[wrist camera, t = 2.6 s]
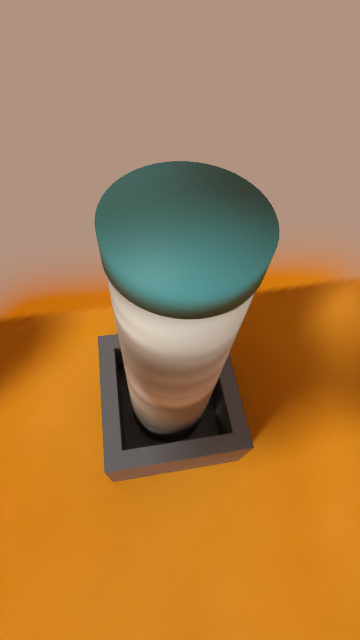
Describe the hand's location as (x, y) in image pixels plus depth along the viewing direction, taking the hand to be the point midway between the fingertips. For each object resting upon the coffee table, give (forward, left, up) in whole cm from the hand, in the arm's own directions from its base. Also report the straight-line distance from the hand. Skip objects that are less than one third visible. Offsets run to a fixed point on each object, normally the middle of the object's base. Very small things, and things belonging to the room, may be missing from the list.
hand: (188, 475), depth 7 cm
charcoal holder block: (+4, -2, -12) cm, 13 cm away
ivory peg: (+4, -2, -11) cm, 12 cm away
